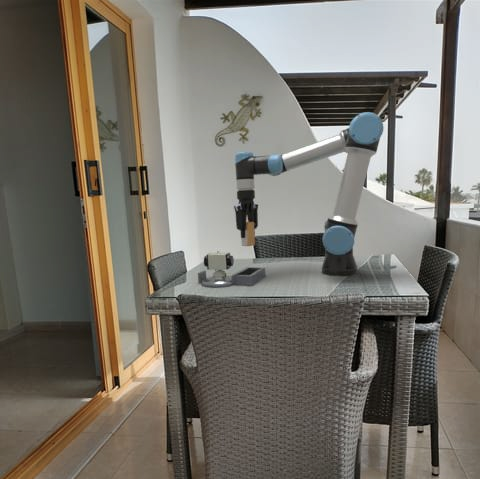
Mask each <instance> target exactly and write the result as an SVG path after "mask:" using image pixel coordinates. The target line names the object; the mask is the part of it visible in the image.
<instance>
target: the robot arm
mask: <svg viewBox="0 0 480 479" xmlns="http://www.w3.org/2000/svg"><path fill="white" fill-rule="evenodd" d="M384 128H385V127H384V123H383V120H382V119H381V117H380V116H379V115H378V114H376V113H375V112H370V111H367V112H366V111H365V112H361V113H359V114H357V115H356V116H355V117H354V118H352V120H351V121H350V124H349V127H347V128H346V129H343V130H340V132H339V134H336V135H333V136H331V137H328V138H324V139H321V140H319V141H317V142H314V143H311V144H308V145H306V146H303V147H300V148H298V149H295V150H292V151H288V152H286V153H283V154H269V155H267V154H266V155H259V156H254V153H253V152H252V151H240V152H237V153H236V154H235V158H234V160H235V164H234V165H235V179H236V190H237V191H236V199H237V200H238V204H237V205H234V206H233V209H234V211H235V213H234V214H235V222H236V225H235V226H236V229H237V230H238V231H240V238H242V240H241V246H242V245H243V246H242V247H249V246H248V238H247V230H246V222H254V236H255V237H256V234H255V233H256V232H255V231H256V229H257V228H258V226H259V223H258V222H259V217H258V215H259V214H258V209H259V204H256V203H255V201H254V199H255V198H256V195H255V194H256V191H255V176H258V175H270V176H273V177H276V176H277V177H278V176H279V175H281V174H283V173H285V172H289V171H291V170H295V169H297V168H300V167H304V166H306V165H309V164H313V163H315V162H318V161H321V160H324V159H327V158H329V157H333V156H337V155H338V154H342V153H346V154H347V156H346V160H345V164H344V167H343V172H342V175H341V181H340V184H339V189H338V193H337V196H336V200H335V205H334V208H333V213H332V214H331V215H329V216H328V217H327V220H325V222H324V228H323V229H324V233H323V235H322V238H321V239H322V244H323V247H324V248H325V250H324V251H325V254H324V259H323V262H322V265H321V273H322V274H324V275H328V276H352V275H355V274H358V265H357V263H356V259H355V257H354V245H355V237H356V232H357V229H358V225H359V223H358V221H357V220H356V216H357V213H358V208H359V204H360V200H361V197H362V194H363V190H364V186H365V183H366V182H365V181H366V178H367V173H368V171H369V170H368V169H369V165H370V162H371V158H372V157H373V156H374V155H376V154H377V152H378V148H379V145H380V144H379V143H380V139H381V137H382V136H383V133H384Z"/></svg>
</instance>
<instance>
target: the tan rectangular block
mask: <svg viewBox="0 0 480 479" xmlns="http://www.w3.org/2000/svg"><path fill="white" fill-rule="evenodd" d="M246 230H247V238H248V246H247V247H252V246H255V245H256V240H255V238H256V235H255V236H254V222H248V221H246ZM240 238H241V237H240ZM241 241H242V238H241ZM241 246H242V247H244V246H243V245H242V244H241Z"/></svg>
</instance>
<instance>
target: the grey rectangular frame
mask: <svg viewBox="0 0 480 479" xmlns="http://www.w3.org/2000/svg"><path fill="white" fill-rule="evenodd" d="M238 272H241V275H237V276H234V275H233V274H231V276H232V282H233V285H232V286H239V287H240V286H242V287H252V286H255V285H256V284H257V283H258V282H261V281H262V280H263V279H265V278H266V277H267V276H266V272H267V271H266V267H261V266H260V267H258V266H256V267H255V266H254V267H253V266H252V267H251V266H247V267H244V268H242V269H241V270H239V271H238ZM234 277H235V278H236V279H235V278H234ZM234 279H235V280H236V281H234ZM235 282H236V283H237V284H236V283H235ZM235 284H236V285H235Z"/></svg>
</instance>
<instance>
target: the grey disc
mask: <svg viewBox="0 0 480 479" xmlns="http://www.w3.org/2000/svg"><path fill="white" fill-rule="evenodd" d="M232 275H234V276H237V275H241V272H239V271H237V272H236V273H234V274H232ZM232 275H226V278H224V279H223V280H214V278H213V275H212V276H208V277H207V270H202V271H200V272H197V280H198V281H197V282H198V284H199V285H200V284H201V286H202V287H205V288H210V289H211V288H218V289H219V288H227V287H231V286H237V285H236V284H237V283H236V282H235V283H236V284H235V285H233V282H232ZM234 278H235V277H234ZM235 279H236V278H235ZM235 279H234V281H236V280H235Z"/></svg>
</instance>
